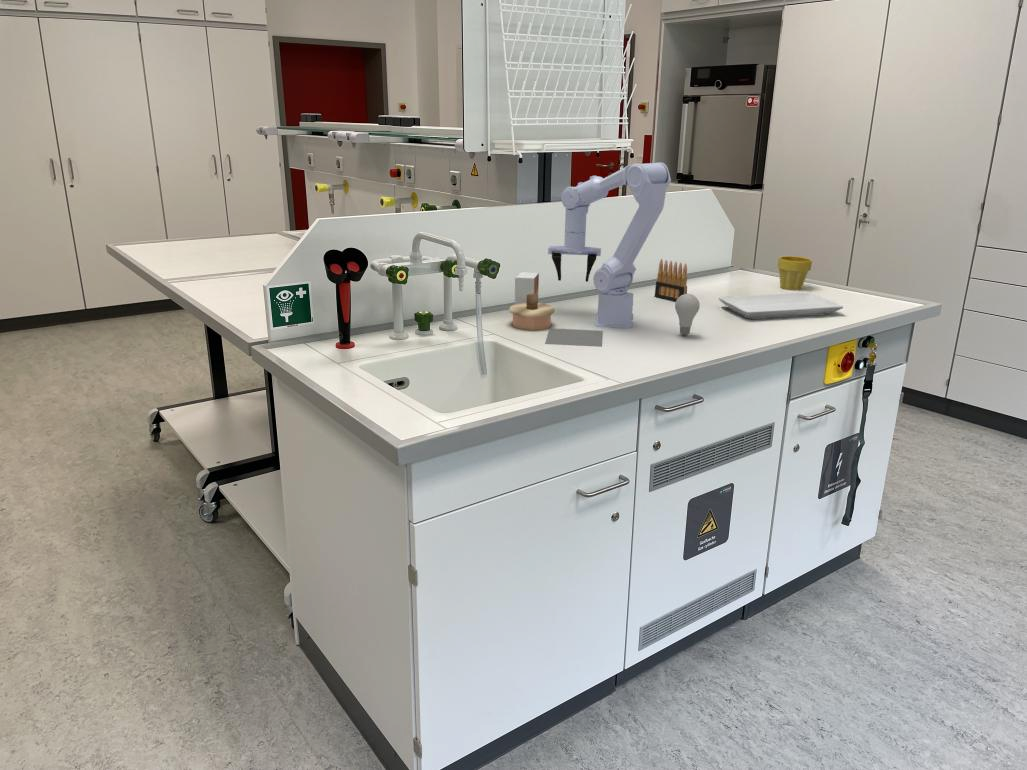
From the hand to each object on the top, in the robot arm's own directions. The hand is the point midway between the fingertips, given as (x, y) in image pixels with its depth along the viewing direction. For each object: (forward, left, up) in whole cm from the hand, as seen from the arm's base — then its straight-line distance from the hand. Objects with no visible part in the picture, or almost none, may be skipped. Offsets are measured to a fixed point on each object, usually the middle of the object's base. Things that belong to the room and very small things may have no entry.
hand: (573, 280), depth 213 cm
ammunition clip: (-29, -21, -10) cm, 37 cm away
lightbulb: (-30, +18, -10) cm, 36 cm away
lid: (+10, +15, -5) cm, 19 cm away
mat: (-2, +25, -9) cm, 27 cm away
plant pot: (-70, -45, -10) cm, 84 cm away
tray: (-60, -12, -10) cm, 62 cm away
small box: (+13, 0, -10) cm, 16 cm away
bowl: (+10, +15, -9) cm, 20 cm away
